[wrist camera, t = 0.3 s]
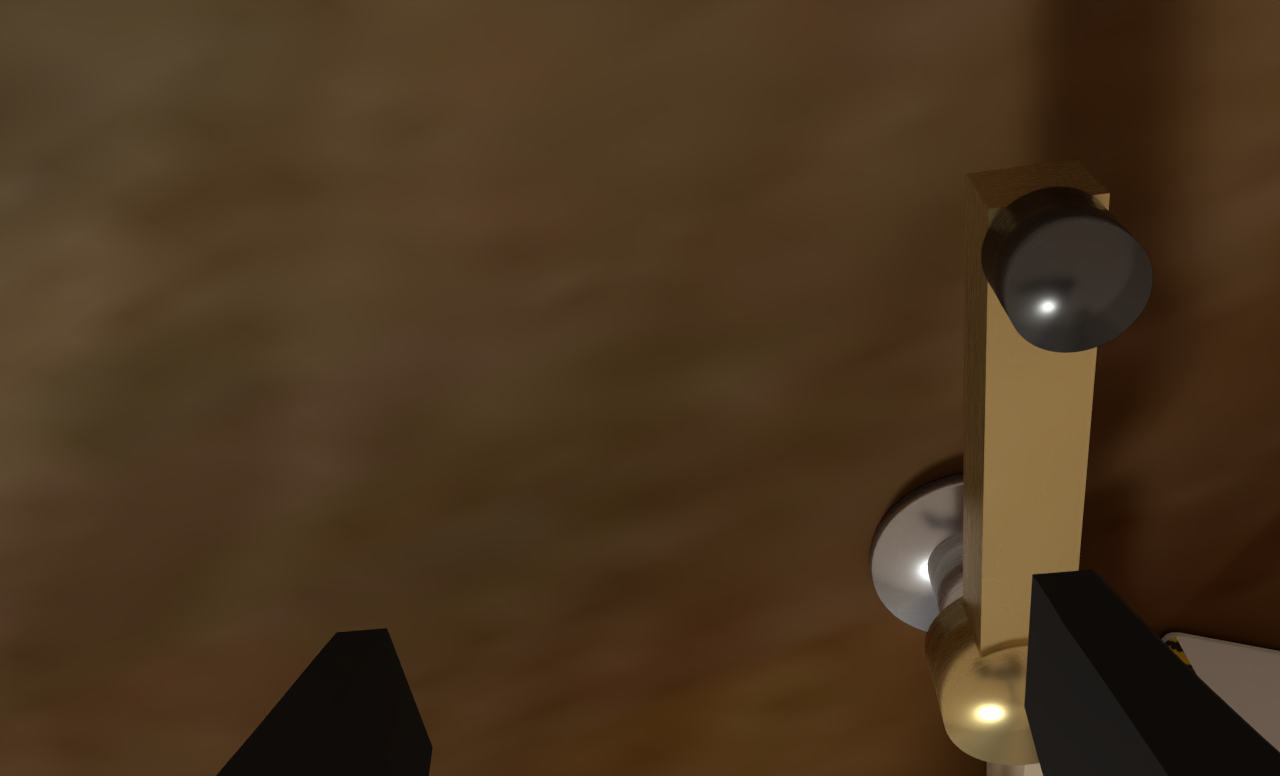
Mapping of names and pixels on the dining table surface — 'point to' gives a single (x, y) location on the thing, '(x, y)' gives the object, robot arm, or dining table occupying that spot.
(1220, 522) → the dining table surface
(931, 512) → the pivot post
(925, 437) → the dining table surface
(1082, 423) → the brass drawer handle
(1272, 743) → the medicine bottle
